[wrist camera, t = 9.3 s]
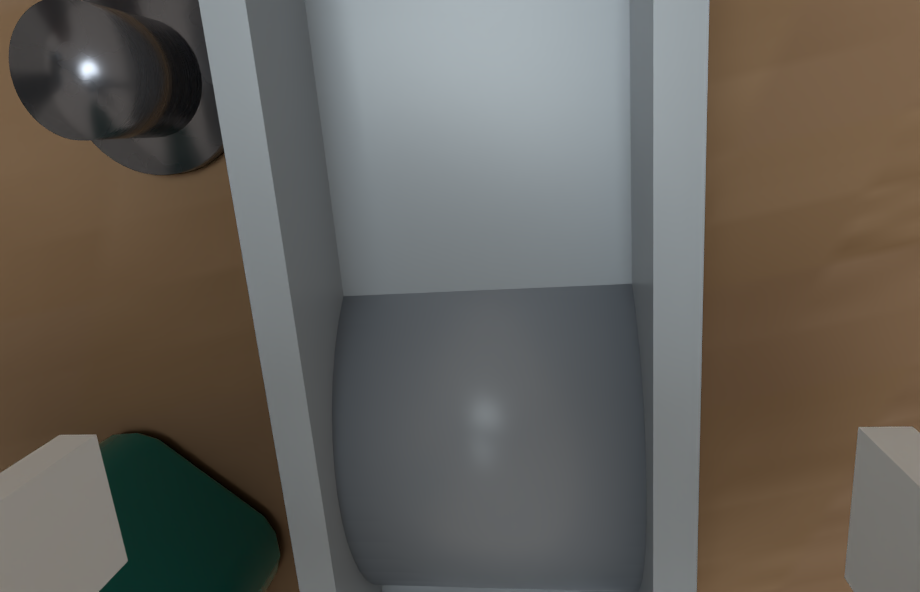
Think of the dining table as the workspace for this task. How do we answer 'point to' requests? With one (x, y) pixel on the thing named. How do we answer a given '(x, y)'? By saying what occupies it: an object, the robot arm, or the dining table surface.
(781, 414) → the dining table surface
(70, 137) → the tee
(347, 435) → the lane
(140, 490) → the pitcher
